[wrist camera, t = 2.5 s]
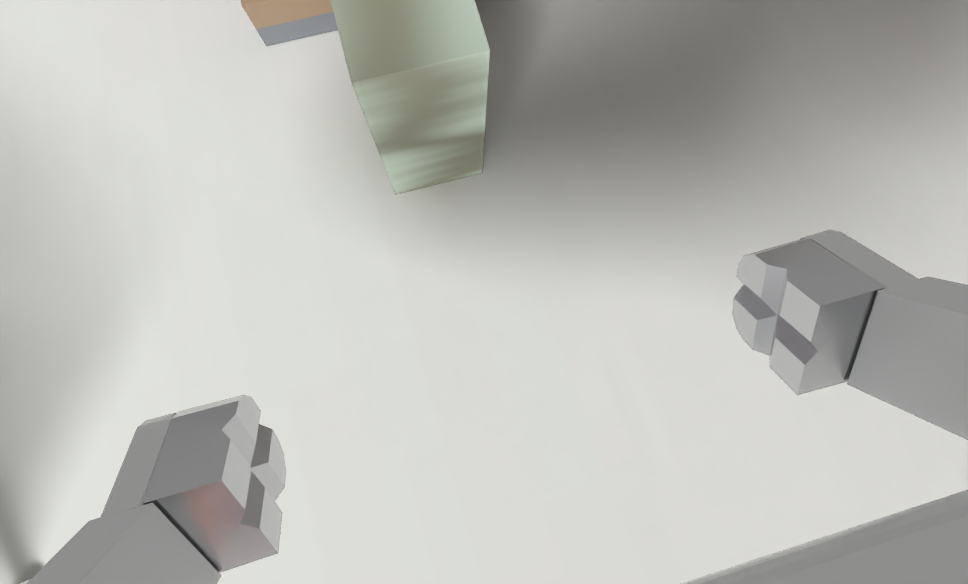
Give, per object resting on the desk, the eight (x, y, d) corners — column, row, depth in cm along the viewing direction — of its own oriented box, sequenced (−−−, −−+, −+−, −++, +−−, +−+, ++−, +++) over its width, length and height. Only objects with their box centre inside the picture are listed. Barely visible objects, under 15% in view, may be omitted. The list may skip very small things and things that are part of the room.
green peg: (459, 93, 25) (453, -70, 16) (482, 172, 24) (489, 50, 15) (374, 113, 24) (319, -41, 16) (395, 194, 24) (351, 82, 15)
